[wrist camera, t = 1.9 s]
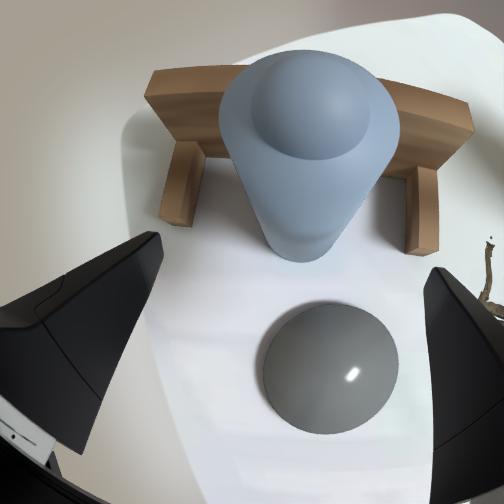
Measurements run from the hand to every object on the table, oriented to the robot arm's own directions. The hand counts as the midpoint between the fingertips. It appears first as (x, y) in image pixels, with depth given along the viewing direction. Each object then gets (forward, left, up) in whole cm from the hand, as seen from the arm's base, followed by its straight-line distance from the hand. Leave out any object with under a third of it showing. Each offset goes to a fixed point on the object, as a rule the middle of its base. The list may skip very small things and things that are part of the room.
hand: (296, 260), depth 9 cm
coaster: (-3, -6, -11) cm, 12 cm away
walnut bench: (+6, +4, -11) cm, 12 cm away
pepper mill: (+3, +2, -11) cm, 11 cm away
